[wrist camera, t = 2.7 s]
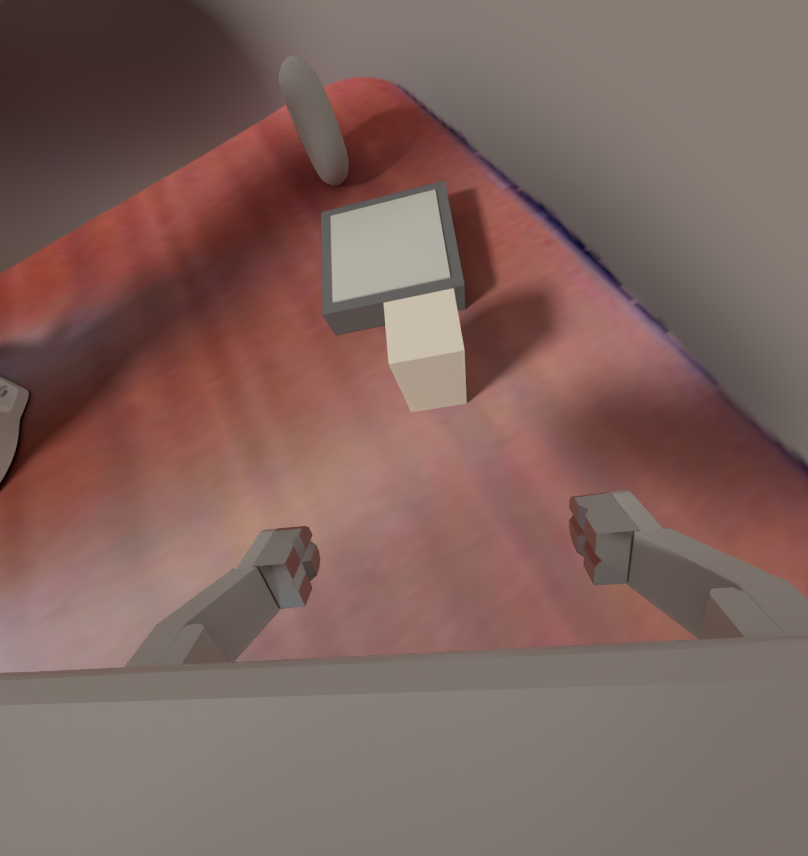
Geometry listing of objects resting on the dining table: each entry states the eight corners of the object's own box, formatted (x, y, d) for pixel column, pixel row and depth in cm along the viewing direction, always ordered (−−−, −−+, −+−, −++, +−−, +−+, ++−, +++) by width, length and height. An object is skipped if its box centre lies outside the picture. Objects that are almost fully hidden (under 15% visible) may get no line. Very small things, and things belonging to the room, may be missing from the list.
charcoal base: (335, 334, 32) (321, 313, 29) (332, 238, 36) (320, 210, 33) (465, 309, 30) (464, 283, 27) (447, 210, 34) (444, 178, 31)
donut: (364, 196, 37) (328, 78, 27) (336, 210, 37) (290, 98, 28) (333, 146, 40) (291, 28, 31) (307, 160, 40) (258, 46, 31)
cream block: (411, 412, 28) (388, 364, 20) (406, 363, 29) (383, 302, 22) (466, 403, 27) (464, 350, 20) (458, 354, 29) (453, 288, 21)
